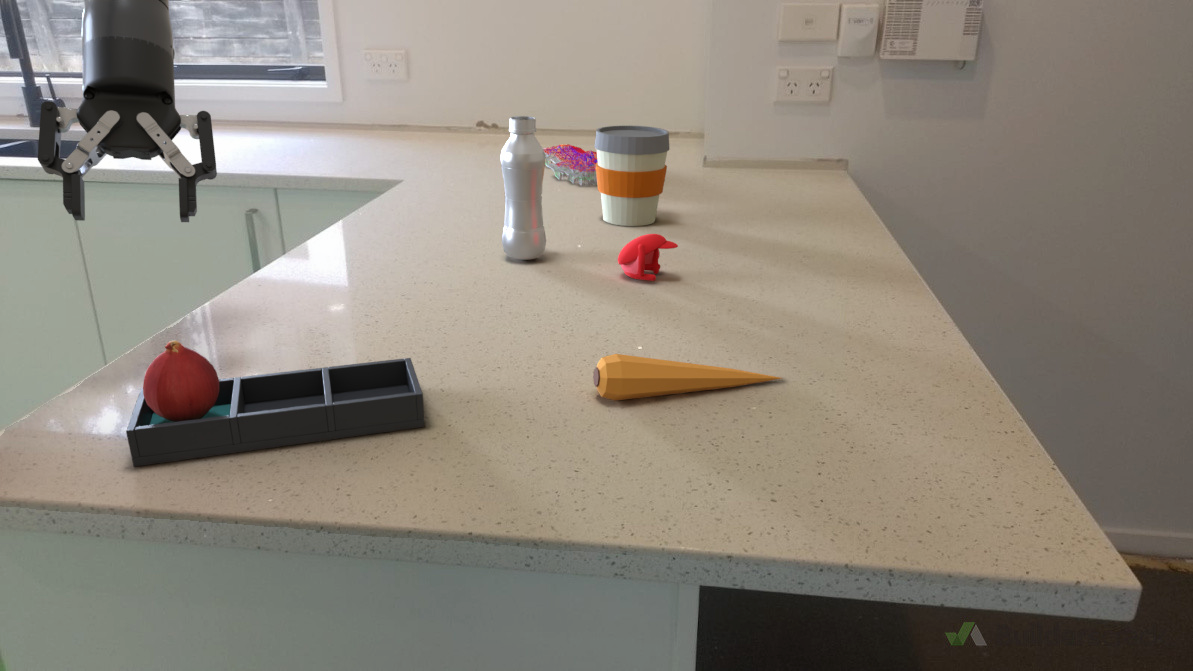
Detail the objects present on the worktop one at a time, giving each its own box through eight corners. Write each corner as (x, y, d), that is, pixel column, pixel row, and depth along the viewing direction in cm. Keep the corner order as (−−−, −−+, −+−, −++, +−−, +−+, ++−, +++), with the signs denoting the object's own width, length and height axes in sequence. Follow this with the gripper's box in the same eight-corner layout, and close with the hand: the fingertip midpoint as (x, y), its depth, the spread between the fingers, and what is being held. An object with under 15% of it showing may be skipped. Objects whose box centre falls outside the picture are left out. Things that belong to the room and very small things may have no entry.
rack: (133, 467, 68) (125, 431, 67) (147, 420, 75) (140, 387, 74) (424, 426, 75) (422, 393, 74) (412, 388, 82) (410, 357, 81)
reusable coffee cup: (680, 219, 145) (685, 131, 139) (633, 233, 136) (637, 139, 131) (624, 206, 153) (628, 123, 147) (577, 218, 144) (579, 130, 138)
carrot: (595, 410, 80) (605, 378, 77) (587, 375, 83) (596, 343, 80) (783, 409, 86) (799, 379, 83) (769, 376, 89) (784, 347, 86)
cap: (622, 285, 112) (623, 241, 110) (613, 271, 118) (615, 229, 115) (680, 283, 114) (682, 240, 111) (668, 269, 119) (671, 228, 117)
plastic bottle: (504, 265, 119) (501, 121, 111) (499, 252, 125) (496, 114, 118) (549, 263, 120) (549, 121, 113) (542, 250, 126) (542, 114, 119)
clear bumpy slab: (531, 160, 192) (531, 137, 190) (595, 158, 196) (595, 136, 194) (560, 188, 165) (560, 162, 163) (633, 186, 169) (634, 160, 167)
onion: (155, 414, 74) (138, 330, 71) (226, 405, 76) (213, 323, 73) (147, 446, 69) (129, 357, 66) (223, 435, 71) (208, 348, 68)
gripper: (29, 24, 73) (31, 204, 70) (210, 41, 78) (217, 208, 76) (48, 64, 79) (50, 230, 77) (213, 77, 85) (219, 231, 83)
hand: (133, 219), depth 77 cm, fingers open, 8 cm apart
